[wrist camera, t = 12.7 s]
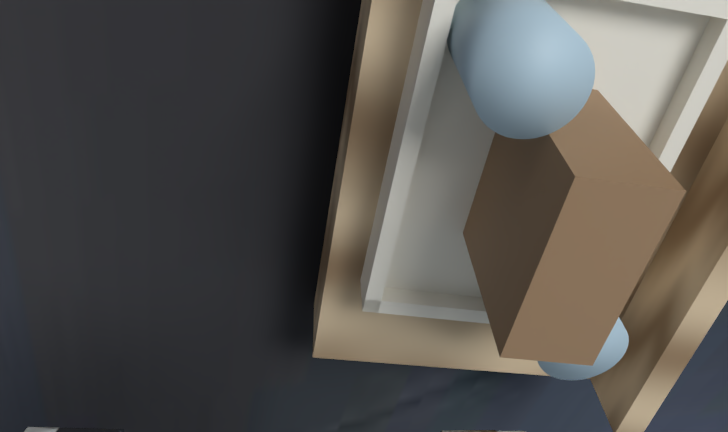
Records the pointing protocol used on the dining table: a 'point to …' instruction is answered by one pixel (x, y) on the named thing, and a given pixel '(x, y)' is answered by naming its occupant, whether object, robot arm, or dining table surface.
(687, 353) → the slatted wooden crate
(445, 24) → the caddy tray
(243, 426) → the dining table surface
